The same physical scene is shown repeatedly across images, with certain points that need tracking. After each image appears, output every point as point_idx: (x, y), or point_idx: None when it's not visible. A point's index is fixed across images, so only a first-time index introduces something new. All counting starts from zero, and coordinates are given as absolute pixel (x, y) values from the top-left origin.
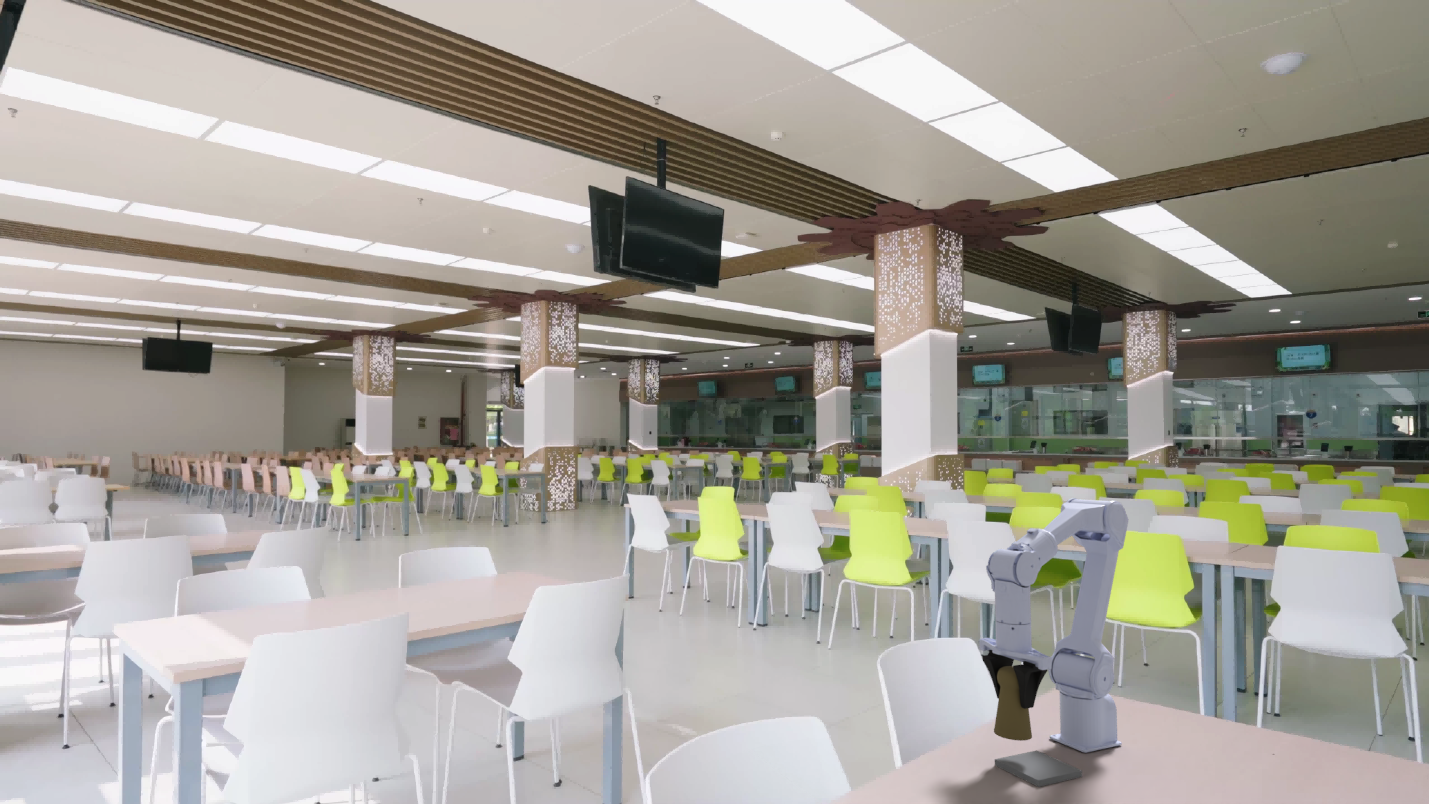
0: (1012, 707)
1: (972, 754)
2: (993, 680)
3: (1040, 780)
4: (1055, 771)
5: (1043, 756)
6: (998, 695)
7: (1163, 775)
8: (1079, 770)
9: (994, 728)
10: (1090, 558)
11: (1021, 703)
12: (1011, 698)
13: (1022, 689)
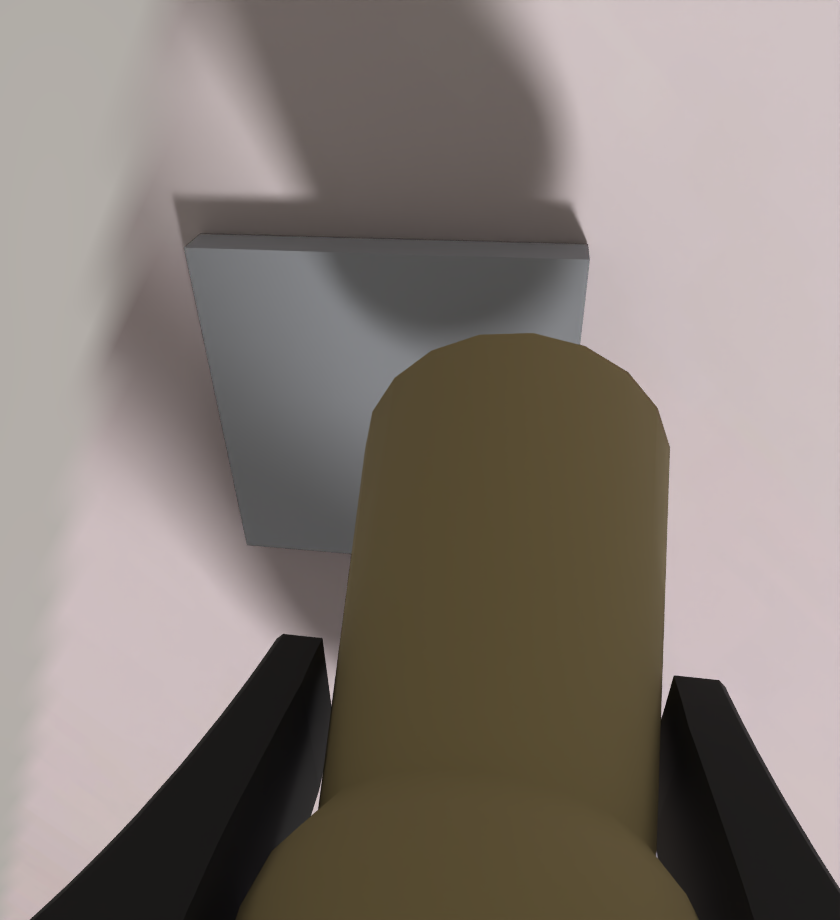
0: (381, 585)
1: (831, 251)
2: (807, 891)
3: (189, 265)
4: (273, 434)
5: None
6: (690, 704)
7: (188, 736)
8: (250, 536)
9: (622, 390)
10: None
11: (292, 670)
12: (378, 672)
13: (156, 827)
